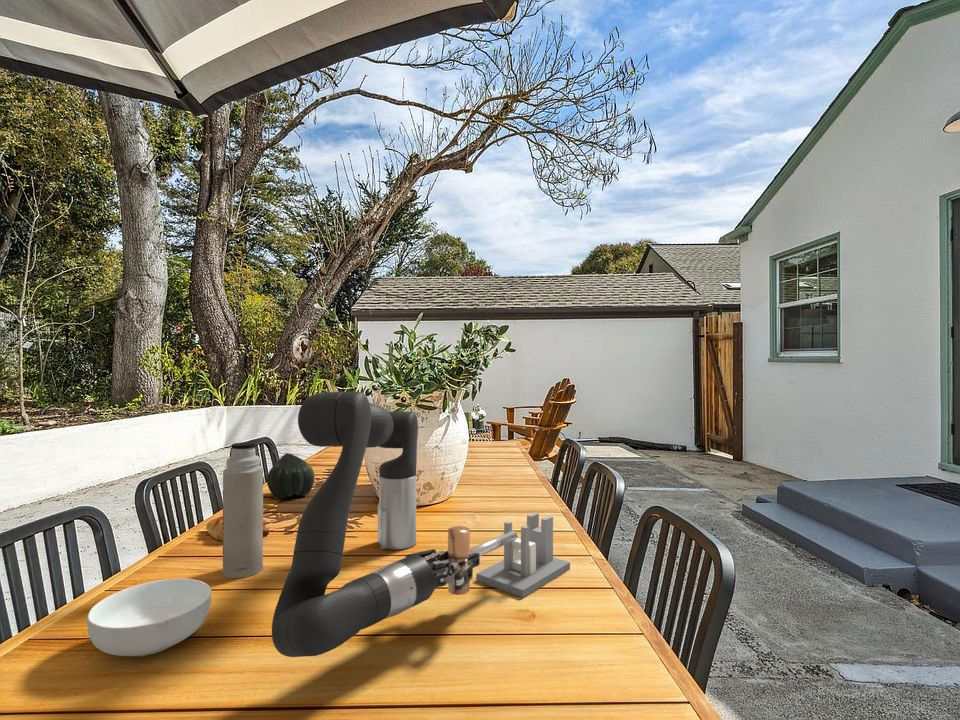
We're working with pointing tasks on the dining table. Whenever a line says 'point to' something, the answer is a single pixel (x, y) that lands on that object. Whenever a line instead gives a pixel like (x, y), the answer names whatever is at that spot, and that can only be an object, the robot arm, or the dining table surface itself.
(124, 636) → the cereal bowl
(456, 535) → the shaft
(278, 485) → the squash
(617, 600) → the dining table surface
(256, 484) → the thermos bottle
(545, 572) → the shaft bracket
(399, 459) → the robot arm
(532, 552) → the block
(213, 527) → the croissant
